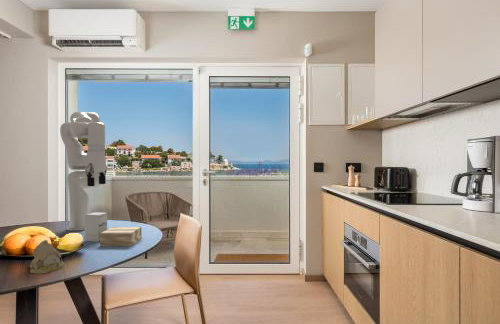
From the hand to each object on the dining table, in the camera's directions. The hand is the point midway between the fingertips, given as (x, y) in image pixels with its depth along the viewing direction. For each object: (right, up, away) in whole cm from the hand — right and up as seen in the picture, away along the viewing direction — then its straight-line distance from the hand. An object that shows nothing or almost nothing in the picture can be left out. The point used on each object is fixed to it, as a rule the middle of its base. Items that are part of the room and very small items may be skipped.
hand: (96, 185), depth 167 cm
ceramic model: (-2, -28, -39) cm, 48 cm away
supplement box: (-1, -27, +3) cm, 27 cm away
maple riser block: (+13, -27, -2) cm, 30 cm away
